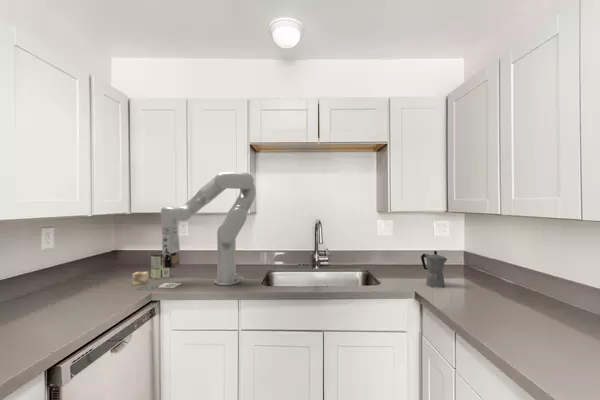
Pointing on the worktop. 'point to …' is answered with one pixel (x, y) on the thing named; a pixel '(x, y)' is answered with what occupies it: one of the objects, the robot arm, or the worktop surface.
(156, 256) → the coffee can
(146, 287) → the slate coaster
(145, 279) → the maple block
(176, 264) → the walnut block
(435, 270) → the coffeepot
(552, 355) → the worktop surface
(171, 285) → the tile
